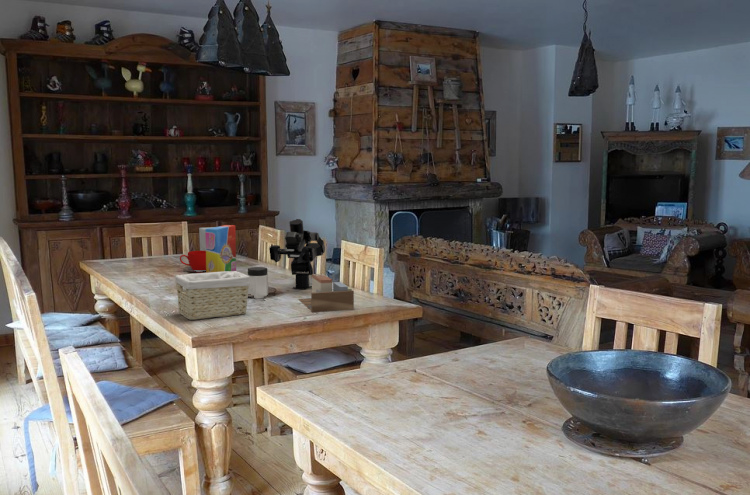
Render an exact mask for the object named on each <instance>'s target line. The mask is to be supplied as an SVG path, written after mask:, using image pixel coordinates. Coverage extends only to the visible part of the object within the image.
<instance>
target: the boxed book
mask: <svg viewBox="0 0 750 495" xmlns="http://www.w3.org/2000/svg"><path fill="white" fill-rule="evenodd" d="M311 278H312V279H311V281H312V284H311V286H312V287H311V289H312V290H311V293H316V289H319V290H320V291H321V292H333V279H332V278H330V277H329V276H327V275H326V274H324V273H316V274H315V273H313V274H312V275H311Z"/></svg>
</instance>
